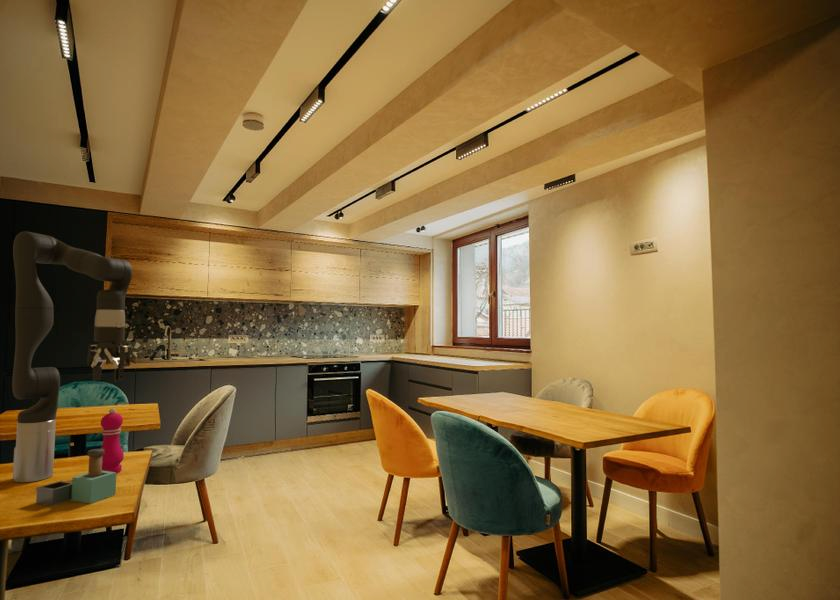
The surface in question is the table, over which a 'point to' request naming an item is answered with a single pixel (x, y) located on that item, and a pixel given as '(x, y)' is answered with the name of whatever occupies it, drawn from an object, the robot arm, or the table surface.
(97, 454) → the pin
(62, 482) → the mount
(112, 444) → the pepper mill
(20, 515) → the table surface
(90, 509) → the table surface
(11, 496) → the table surface
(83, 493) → the socket
